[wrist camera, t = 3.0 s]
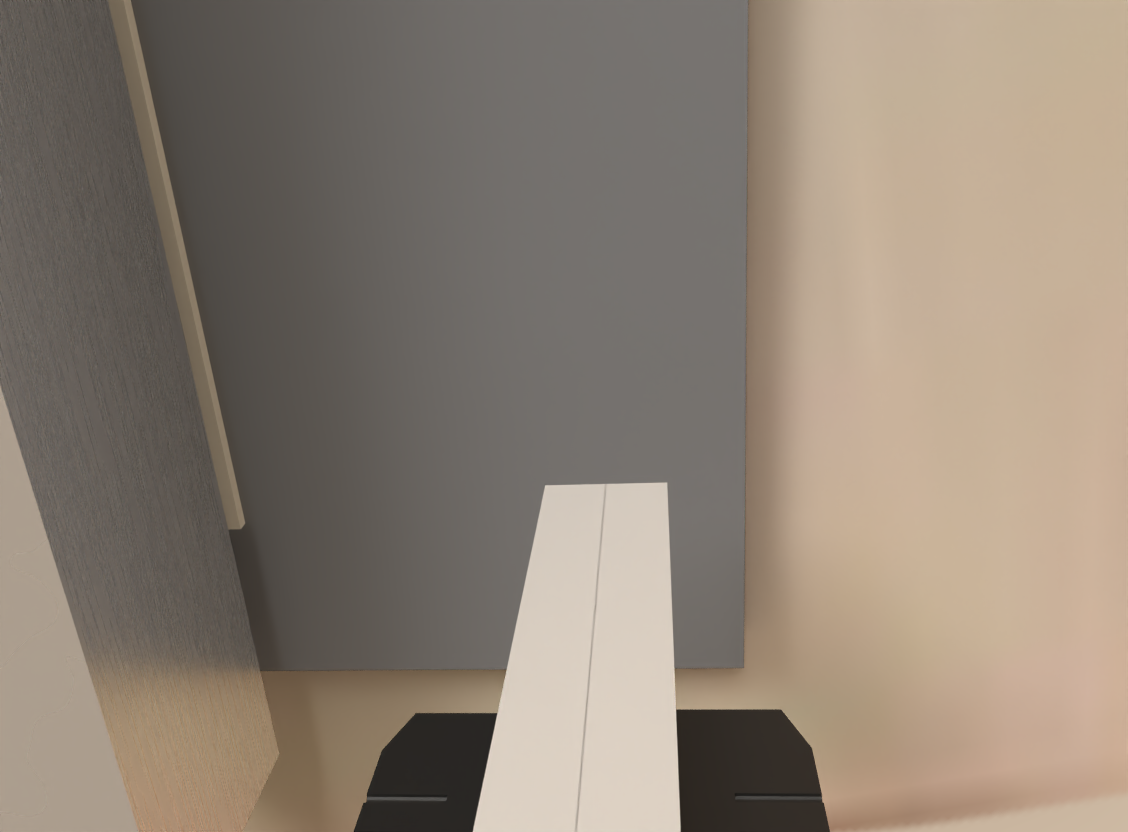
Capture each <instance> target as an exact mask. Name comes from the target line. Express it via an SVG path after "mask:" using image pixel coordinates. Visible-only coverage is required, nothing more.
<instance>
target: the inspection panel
mask: <svg viewBox="0 0 1128 832" xmlns="http://www.w3.org/2000/svg"><path fill="white" fill-rule="evenodd" d="M108 2H109V7H110V11H111V16H112V20H113V24H114V29H115V33H116V38H117V42H118V46H119V51H120V55H121V60H122V64H123V69H124V73H125V77H126V82H127V86H128V91H129V95H130V99H131V104H132V108H133V113H134V117H135V121H136V126H137V130H138V135H139V139H140V143H141V148H142V152H143V157H144V161H145V165H146V170H147V174H148V179H149V183H150V187H151V192H152V196H153V201H154V205H155V209H156V214H157V218H158V223H159V227H160V231H161V236H162V240H163V245H164V249H165V253H166V258H167V262H168V267H169V271H170V275H171V280H172V284H173V289H174V293H175V297H176V302H177V306H178V311H179V315H180V319H181V324H182V328H183V333H184V337H185V341H186V346H187V350H188V355H189V359H190V363H191V368H192V372H193V377H194V381H195V385H196V390H197V394H198V399H199V403H200V407H201V412H202V416H203V421H204V425H205V430H206V434H207V438H208V443H209V447H210V452H211V456H212V460H213V465H214V469H215V474H216V478H217V482H218V487H219V491H220V496H221V500H222V504H223V509H224V513H225V518H226V522H227V526H228V531H229V535H230V540H231V544H232V548H233V553H234V557H235V562H236V566H237V570H238V575H239V579H240V584H241V588H242V592H243V597H244V601H245V606H246V610H247V614H248V619H249V623H250V628H251V632H252V636H253V641H254V645H255V650H256V654H257V658H258V663H259V667H260V671H329V670H498V669H507V666H508V661H509V656H510V651H511V647H512V642H513V637H514V632H515V628H516V623H517V618H518V613H519V608H520V604H521V599H522V594H523V589H524V585H525V580H526V575H527V570H528V565H529V561H530V556H531V551H532V546H533V542H534V537H535V532H536V527H537V522H538V518H539V513H540V508H541V503H542V499H543V494H544V489H545V485H581V484H624V483H667V490H668V516H669V542H670V568H671V594H672V620H673V646H674V668H744V567H745V411H746V255H747V100H748V0H108Z"/></svg>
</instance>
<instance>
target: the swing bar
mask: <svg viewBox="0 0 1128 832" xmlns="http://www.w3.org/2000/svg"><path fill="white" fill-rule="evenodd" d="M278 756H279V751H278V746H277V742H276V738H275V733H274V729H273V724H272V720H271V716H270V711H269V707H268V702H267V698H266V694H265V689H264V685H263V680H262V676H261V672H260V667H259V663H258V658H257V654H256V650H255V645H254V641H253V636H252V632H251V628H250V623H249V619H248V614H247V610H246V606H245V601H244V597H243V592H242V588H241V584H240V579H239V575H238V570H237V566H236V562H235V557H234V553H233V548H232V544H231V540H230V535H229V531H228V526H227V522H226V518H225V513H224V509H223V504H222V500H221V496H220V491H219V487H218V482H217V478H216V474H215V469H214V465H213V460H212V456H211V452H210V447H209V443H208V438H207V434H206V430H205V425H204V421H203V416H202V412H201V407H200V403H199V399H198V394H197V390H196V385H195V381H194V377H193V372H192V368H191V363H190V359H189V355H188V350H187V346H186V341H185V337H184V333H183V328H182V324H181V319H180V315H179V311H178V306H177V302H176V297H175V293H174V289H173V284H172V280H171V275H170V271H169V267H168V262H167V258H166V253H165V249H164V245H163V240H162V236H161V231H160V227H159V223H158V218H157V214H156V209H155V205H154V201H153V196H152V192H151V187H150V183H149V179H148V174H147V170H146V165H145V161H144V157H143V152H142V148H141V143H140V139H139V135H138V130H137V126H136V121H135V117H134V113H133V108H132V104H131V99H130V95H129V91H128V86H127V82H126V77H125V73H124V69H123V64H122V60H121V55H120V51H119V46H118V42H117V38H116V33H115V29H114V24H113V20H112V16H111V11H110V7H109V2H108V0H0V832H243V830H244V828H245V825H246V823H247V821H248V819H249V817H250V815H251V813H252V811H253V809H254V807H255V805H256V802H257V800H258V798H259V796H260V794H261V792H262V790H263V788H264V786H265V784H266V782H267V779H268V777H269V775H270V773H271V771H272V769H273V767H274V765H275V763H276V761H277V759H278Z"/></svg>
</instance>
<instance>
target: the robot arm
mask: <svg viewBox="0 0 1128 832" xmlns="http://www.w3.org/2000/svg"><path fill="white" fill-rule="evenodd" d="M354 832H830V830H829V826H828V821H827V816H826V812H825V807H824V803H822V793H821V789H820V784H819V779H818V775H817V770H816V765H815V761H814V756H813V752H812V748H811V746H810V745H809V744H808V743H807V741H806V740H805V739H804V738H803V736H802V735H801V734H800V733H799V731H798V730H797V729H796V728H795V726H794V725H793V724H792V723H791V721H790V720H789V719H788V718H787V716H786V715H785V714H784V713H783V711H782V710H676V697H675V672H674V646H673V620H672V594H671V568H670V542H669V516H668V490H667V483H624V484H581V485H545V489H544V494H543V499H542V503H541V508H540V513H539V518H538V522H537V527H536V532H535V537H534V542H533V546H532V551H531V556H530V561H529V565H528V570H527V575H526V580H525V585H524V589H523V594H522V599H521V604H520V608H519V613H518V618H517V623H516V628H515V632H514V637H513V642H512V647H511V651H510V656H509V661H508V666H507V671H506V675H505V680H504V685H503V690H502V694H501V699H500V704H499V709H498V713H416V714H415V715H414V716H413V717H412V718H411V719H410V720H409V721H408V723H407V724H406V725H405V726H404V727H403V728H402V729H401V730H400V731H399V732H398V734H397V735H396V736H395V737H394V738H393V739H392V740H391V741H390V742H389V743H388V745H387V746H386V747H385V748H384V749H383V750H382V752H381V755H380V758H379V761H378V764H377V767H376V769H375V772H374V775H373V778H372V781H371V784H370V787H369V789H368V792H367V801H366V803H364V804H363V806H362V809H361V812H360V815H359V818H358V821H357V824H356V826H355V829H354Z"/></svg>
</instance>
